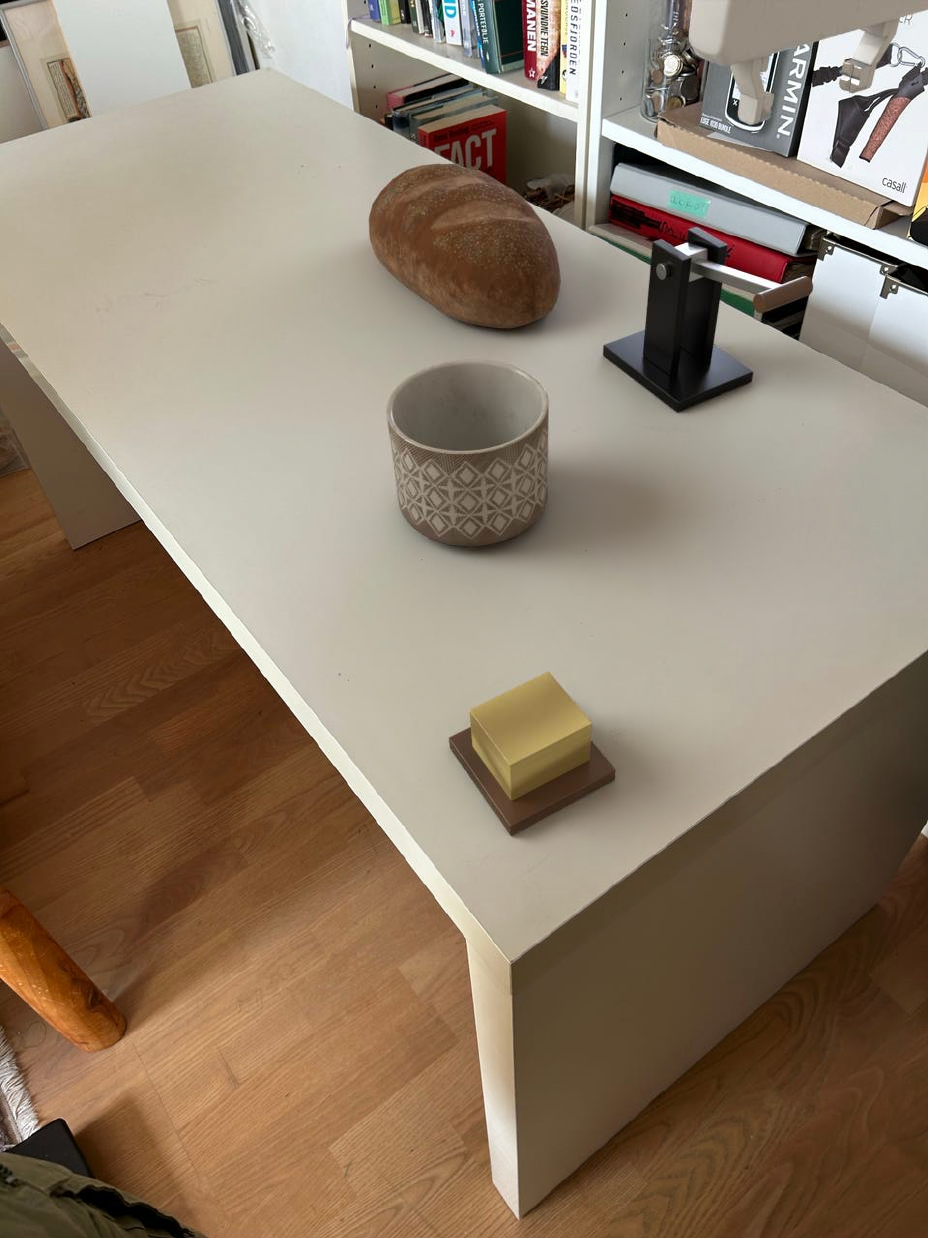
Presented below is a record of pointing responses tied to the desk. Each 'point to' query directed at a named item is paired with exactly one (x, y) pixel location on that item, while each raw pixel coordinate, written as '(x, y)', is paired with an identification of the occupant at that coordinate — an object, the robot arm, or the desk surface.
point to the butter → (531, 753)
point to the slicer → (680, 331)
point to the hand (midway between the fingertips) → (804, 104)
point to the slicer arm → (746, 281)
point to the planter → (470, 450)
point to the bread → (466, 245)
